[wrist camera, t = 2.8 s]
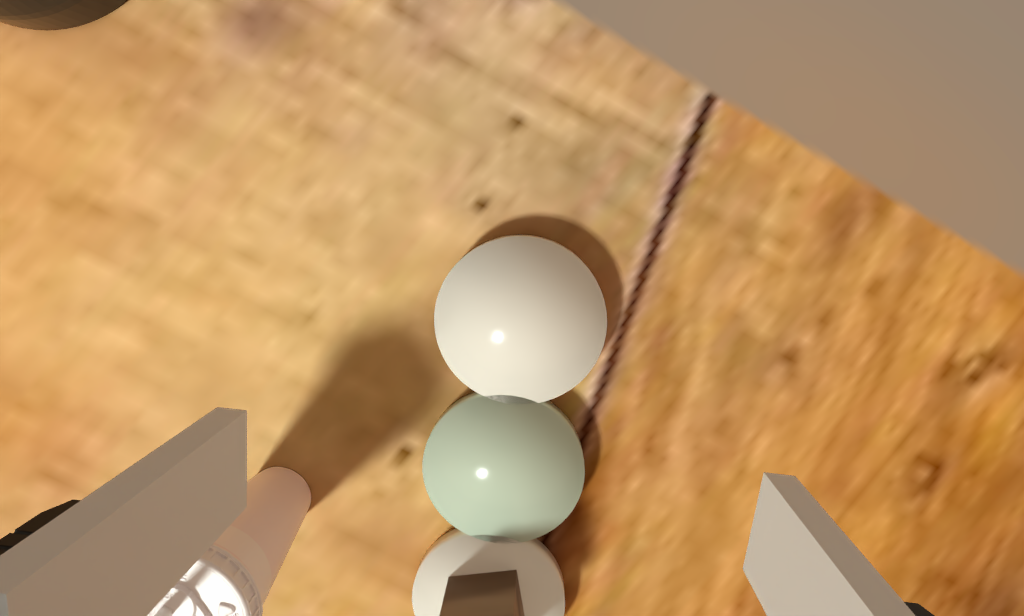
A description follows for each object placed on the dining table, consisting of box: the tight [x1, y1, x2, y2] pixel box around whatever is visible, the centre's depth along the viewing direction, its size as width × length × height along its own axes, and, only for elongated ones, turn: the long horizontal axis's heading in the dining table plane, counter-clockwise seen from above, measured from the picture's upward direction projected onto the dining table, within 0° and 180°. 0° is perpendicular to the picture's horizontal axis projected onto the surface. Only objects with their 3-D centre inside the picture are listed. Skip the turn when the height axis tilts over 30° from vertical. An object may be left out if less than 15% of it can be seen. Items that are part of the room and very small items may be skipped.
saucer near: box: [434, 234, 607, 405], centre depth 30 cm, size 9×9×1 cm
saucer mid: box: [423, 392, 585, 544], centre depth 32 cm, size 9×9×1 cm
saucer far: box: [412, 528, 565, 616], centre depth 34 cm, size 9×9×1 cm
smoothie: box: [147, 467, 311, 616], centre depth 27 cm, size 6×6×14 cm
